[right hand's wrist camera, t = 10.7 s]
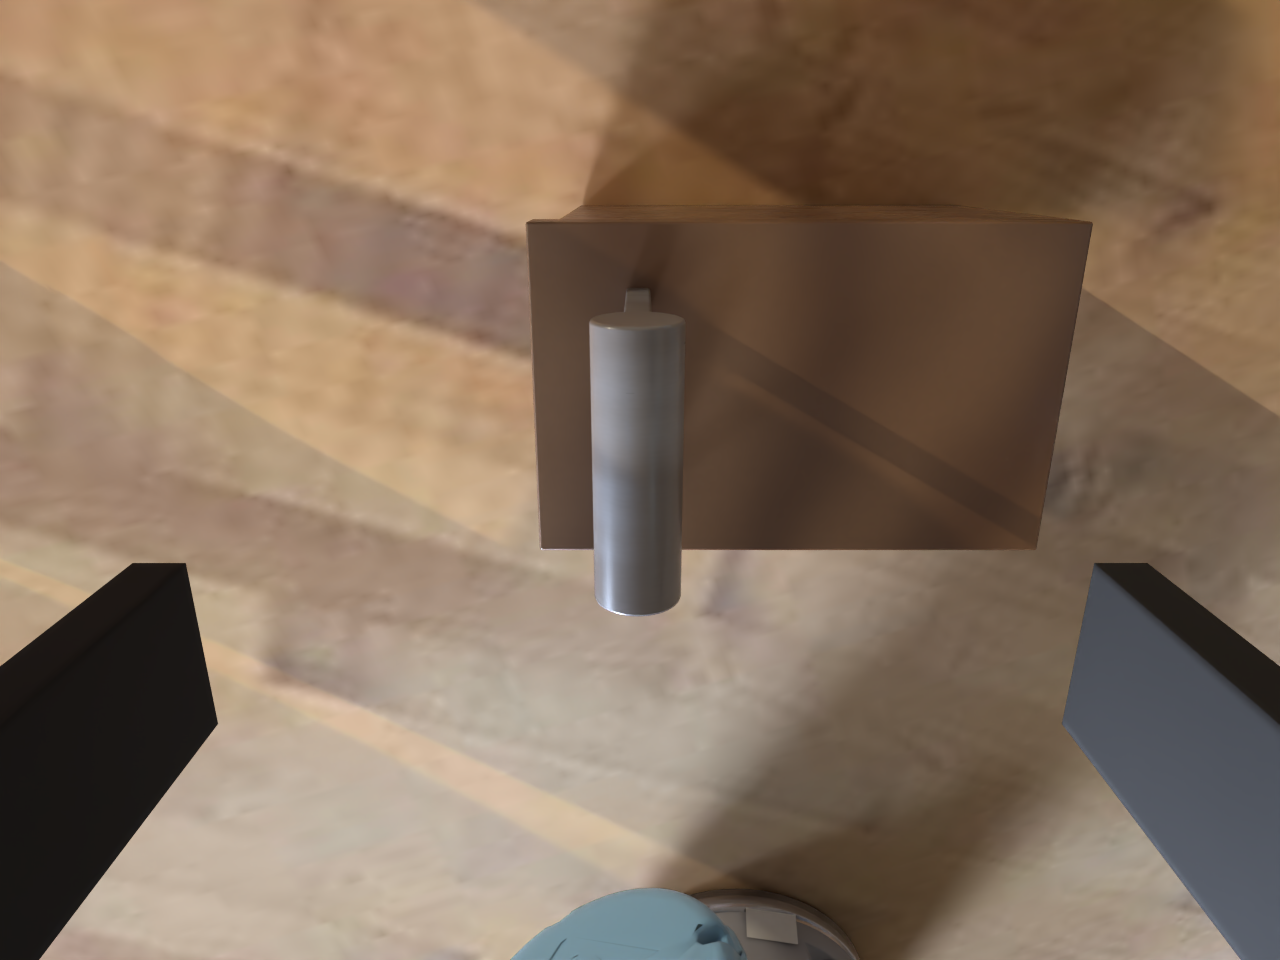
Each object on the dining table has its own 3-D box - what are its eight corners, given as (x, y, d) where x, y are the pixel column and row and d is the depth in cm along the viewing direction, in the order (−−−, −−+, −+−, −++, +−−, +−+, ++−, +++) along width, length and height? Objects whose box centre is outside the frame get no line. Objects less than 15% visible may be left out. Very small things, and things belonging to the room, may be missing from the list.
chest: (585, 446, 38) (568, 534, 29) (580, 205, 35) (558, 219, 26) (928, 446, 38) (1019, 534, 29) (958, 205, 35) (1071, 219, 26)
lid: (544, 534, 29) (505, 678, 21) (530, 219, 26) (478, 243, 17) (1020, 535, 29) (1169, 679, 21) (1072, 219, 26) (1276, 243, 17)
